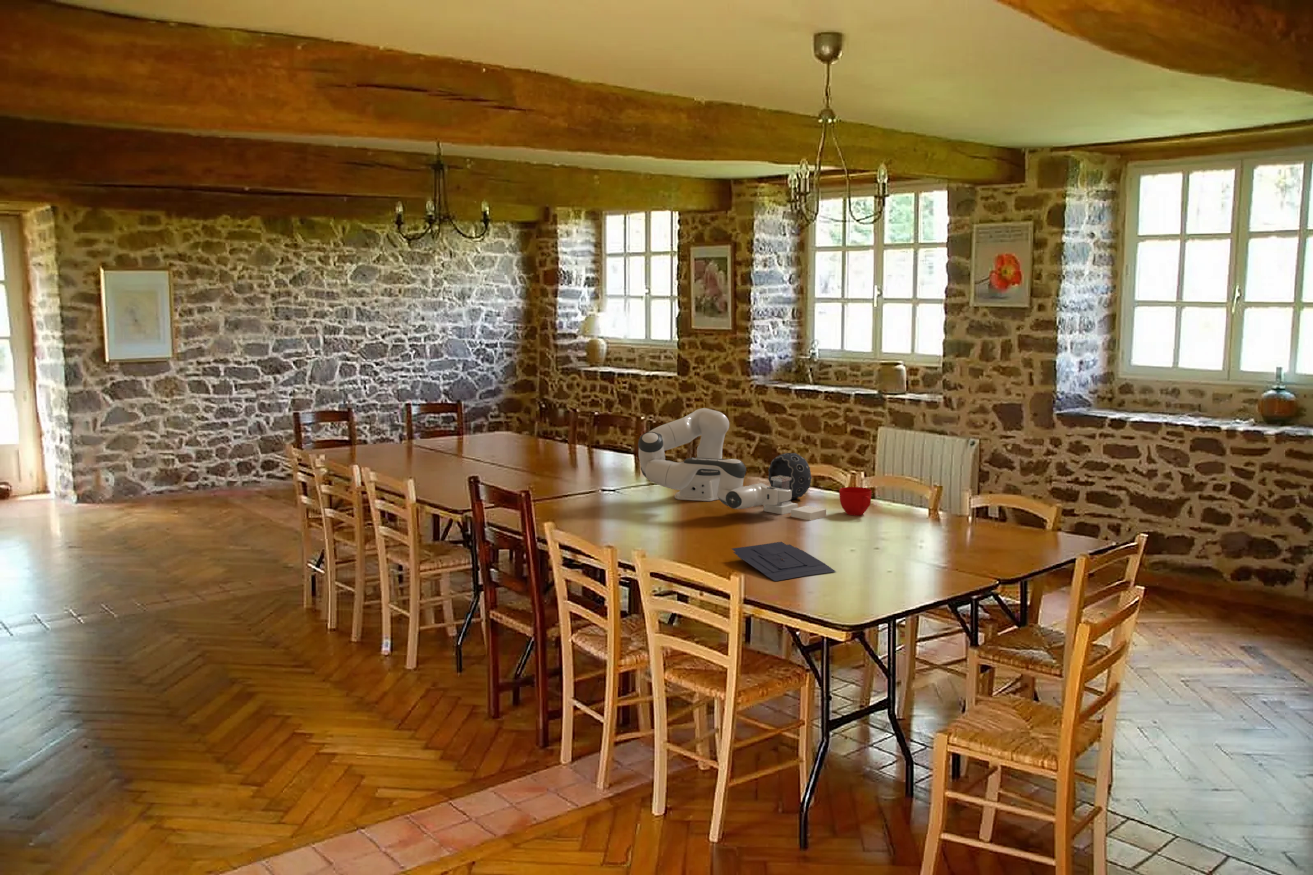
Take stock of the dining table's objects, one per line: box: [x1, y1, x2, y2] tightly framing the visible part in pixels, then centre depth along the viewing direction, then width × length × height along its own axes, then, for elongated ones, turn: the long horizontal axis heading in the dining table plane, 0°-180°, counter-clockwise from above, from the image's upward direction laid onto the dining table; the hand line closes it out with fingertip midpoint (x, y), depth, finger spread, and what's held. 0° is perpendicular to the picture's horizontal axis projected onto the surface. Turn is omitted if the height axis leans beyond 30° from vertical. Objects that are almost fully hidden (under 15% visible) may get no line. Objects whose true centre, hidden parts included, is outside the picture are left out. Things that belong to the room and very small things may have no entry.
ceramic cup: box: [838, 486, 872, 517], centre depth 426 cm, size 13×17×10 cm
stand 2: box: [790, 505, 827, 521], centre depth 424 cm, size 10×10×3 cm
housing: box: [771, 475, 792, 506], centre depth 434 cm, size 6×6×11 cm
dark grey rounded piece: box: [767, 452, 812, 500], centre depth 459 cm, size 11×20×20 cm, turn 31°
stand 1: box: [763, 502, 799, 515], centre depth 435 cm, size 10×10×3 cm
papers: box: [731, 541, 837, 582], centre depth 350 cm, size 24×30×4 cm
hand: (781, 489), depth 434 cm, fingers open, 8 cm apart
